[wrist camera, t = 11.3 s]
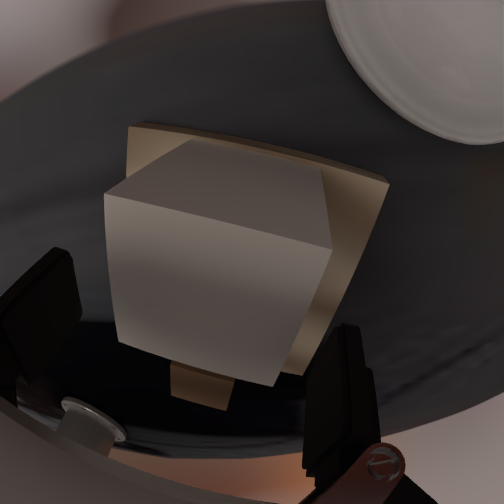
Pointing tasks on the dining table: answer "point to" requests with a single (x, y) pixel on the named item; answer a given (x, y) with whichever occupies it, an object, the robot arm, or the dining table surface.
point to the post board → (338, 267)
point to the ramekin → (430, 61)
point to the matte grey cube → (217, 257)
